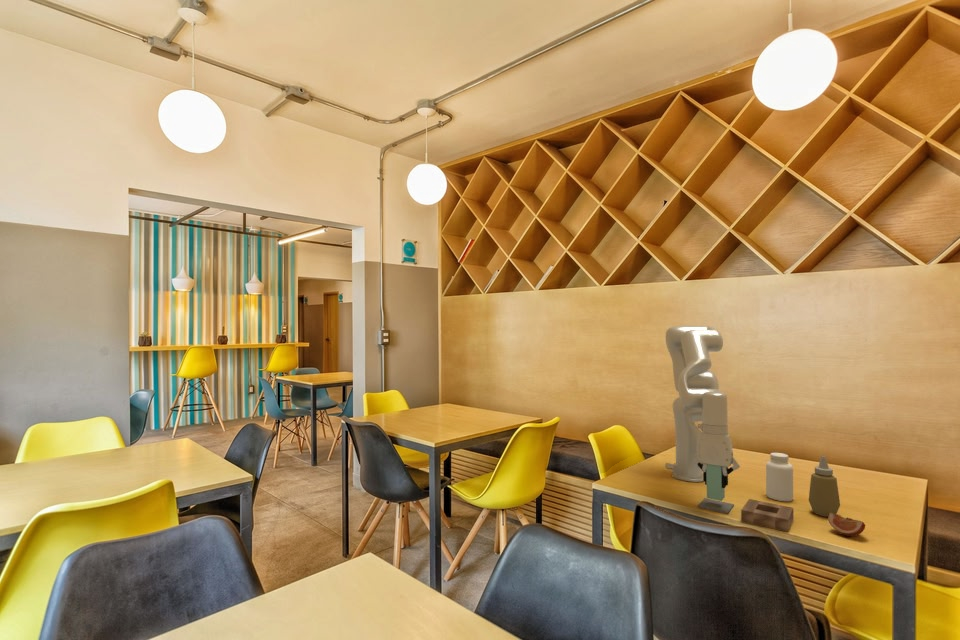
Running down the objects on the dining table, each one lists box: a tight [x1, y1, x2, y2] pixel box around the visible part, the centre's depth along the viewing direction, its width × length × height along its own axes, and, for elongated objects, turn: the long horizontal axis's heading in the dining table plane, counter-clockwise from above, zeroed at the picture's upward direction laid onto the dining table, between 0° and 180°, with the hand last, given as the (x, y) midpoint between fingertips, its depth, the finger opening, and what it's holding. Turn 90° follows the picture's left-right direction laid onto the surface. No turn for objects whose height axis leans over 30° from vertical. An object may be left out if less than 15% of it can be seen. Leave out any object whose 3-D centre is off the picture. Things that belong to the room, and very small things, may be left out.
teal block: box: [706, 464, 726, 502], centre depth 155 cm, size 4×4×12 cm
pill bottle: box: [765, 452, 794, 502], centre depth 164 cm, size 8×8×15 cm
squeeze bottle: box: [808, 455, 841, 518], centre depth 149 cm, size 8×8×18 cm
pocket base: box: [740, 498, 794, 533], centre depth 144 cm, size 12×12×4 cm
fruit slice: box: [827, 513, 866, 537], centre depth 135 cm, size 8×7×5 cm
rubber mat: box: [696, 497, 735, 515], centre depth 155 cm, size 9×9×1 cm
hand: (715, 484), depth 155 cm, fingers closed on teal block, 4 cm apart
